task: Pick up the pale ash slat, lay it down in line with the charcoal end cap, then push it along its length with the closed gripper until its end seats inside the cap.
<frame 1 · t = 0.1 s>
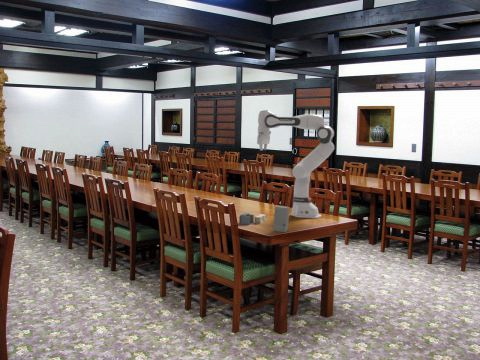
hand: (263, 150, 385), 48 cm above the table, tool pointing down, fingers open, 8 cm apart
end cap: (246, 223, 346), on the table
skincare box: (281, 231, 324), on the table
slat: (260, 222, 352), on the table
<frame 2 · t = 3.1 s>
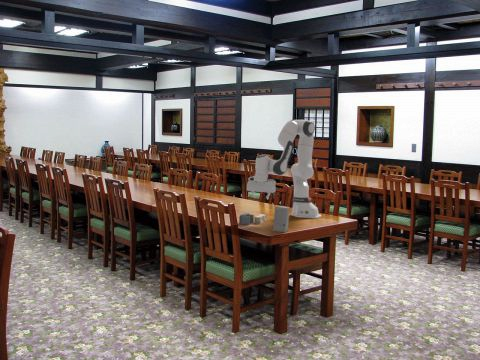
hand: (260, 198, 350), 16 cm above the table, tool pointing down, fingers open, 8 cm apart
nothing on the table moved.
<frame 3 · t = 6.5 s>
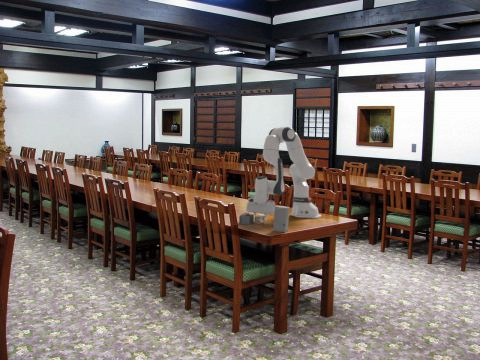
hand: (260, 219, 352), 2 cm above the table, tool pointing down, fingers closed on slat, 4 cm apart
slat: (260, 221, 352), on the table, touching gripper
everything else where it was.
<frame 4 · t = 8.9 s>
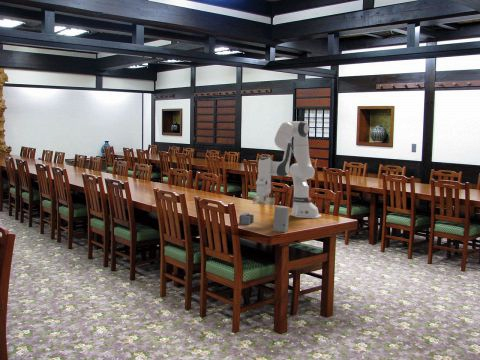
hand: (263, 201, 341), 16 cm above the table, tool pointing down, fingers closed on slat, 4 cm apart
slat: (263, 204, 341), point 14 cm above the table, touching gripper
everything else where it was.
when the fingers open (3 cm above the table, at t = 11.5 s): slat drops 1 cm, on the table.
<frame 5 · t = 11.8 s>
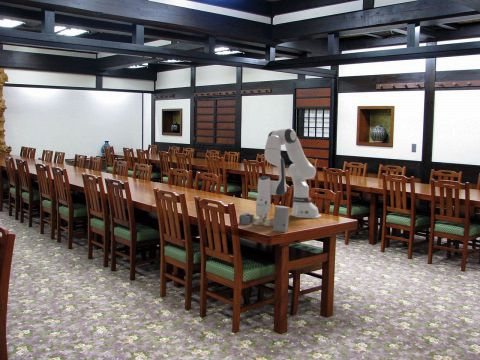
hand: (263, 220, 342), 3 cm above the table, tool pointing down, fingers open, 7 cm apart
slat: (263, 225, 342), on the table
everything else where it was.
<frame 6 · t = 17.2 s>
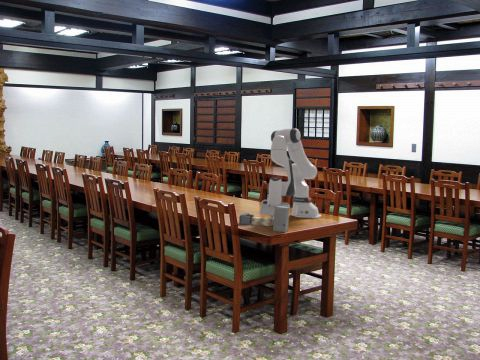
hand: (274, 222, 339), 2 cm above the table, tool pointing down, fingers closed
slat: (262, 224, 342), on the table, touching gripper
everything else where it was.
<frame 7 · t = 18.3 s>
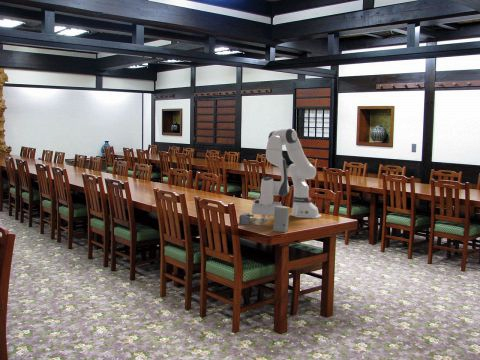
hand: (266, 221, 341), 2 cm above the table, tool pointing down, fingers closed
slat: (254, 224, 344), on the table, touching gripper
everything else where it was.
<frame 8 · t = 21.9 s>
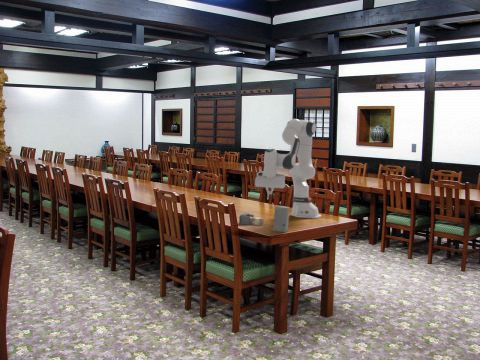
hand: (269, 194, 339), 21 cm above the table, tool pointing down, fingers closed
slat: (253, 224, 345), on the table
everything else where it was.
at the end: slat 0.8 cm from the target spot on the table beside the end cap, on the table; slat tilted 0°; the gripper is holding nothing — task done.
